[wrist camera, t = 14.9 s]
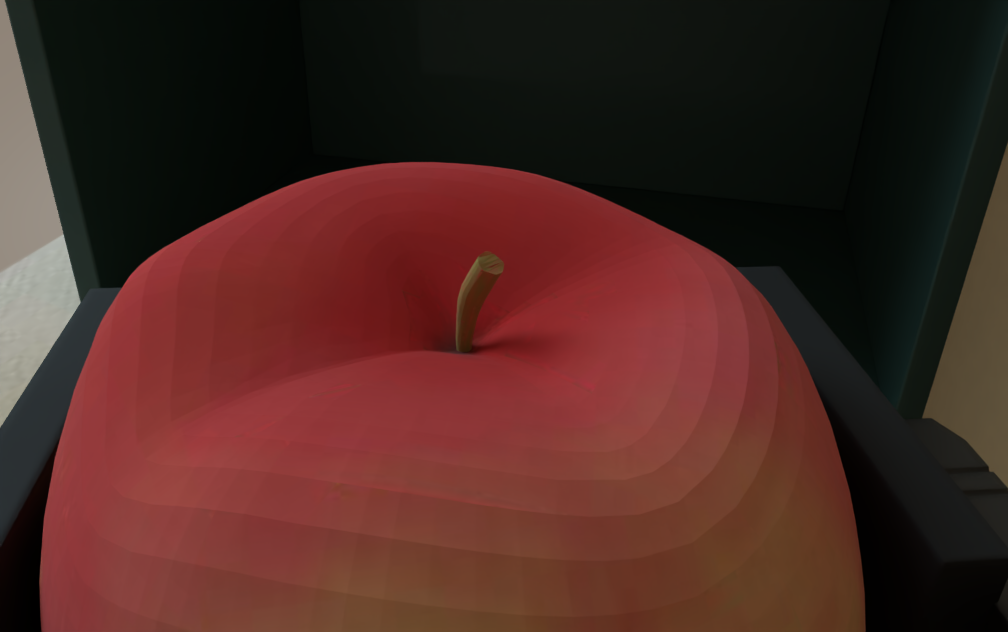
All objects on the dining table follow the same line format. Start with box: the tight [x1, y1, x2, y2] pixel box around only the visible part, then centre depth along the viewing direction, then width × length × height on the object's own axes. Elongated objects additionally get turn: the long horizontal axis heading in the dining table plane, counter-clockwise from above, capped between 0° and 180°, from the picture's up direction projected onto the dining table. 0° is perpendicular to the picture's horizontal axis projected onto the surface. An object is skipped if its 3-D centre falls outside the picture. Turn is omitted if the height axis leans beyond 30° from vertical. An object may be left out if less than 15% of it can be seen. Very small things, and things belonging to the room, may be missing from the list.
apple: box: [39, 162, 866, 632], centre depth 11 cm, size 10×10×10 cm
